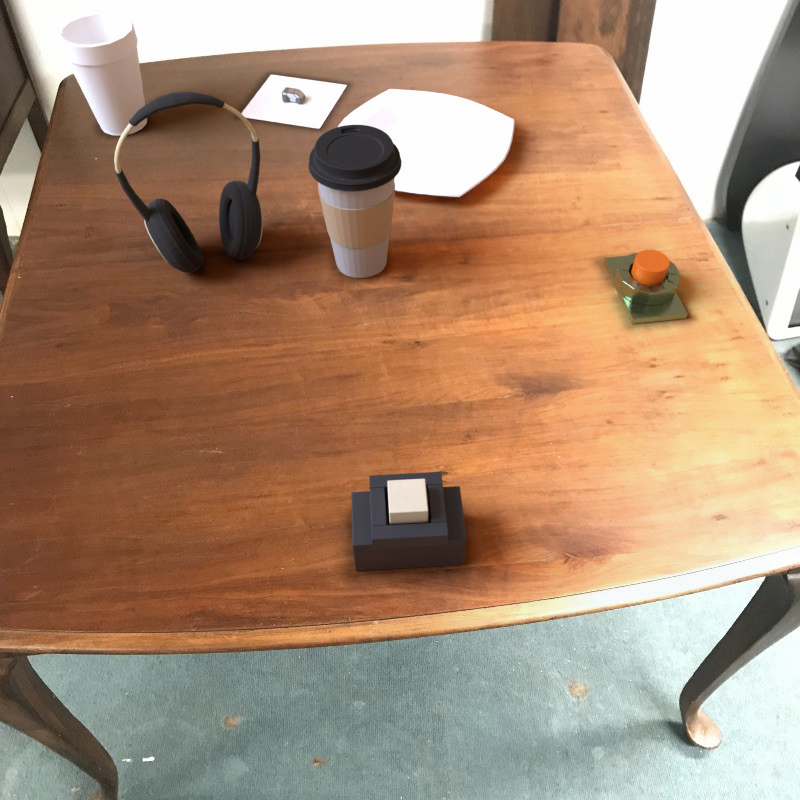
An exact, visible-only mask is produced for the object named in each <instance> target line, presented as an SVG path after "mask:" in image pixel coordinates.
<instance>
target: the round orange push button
mask: <svg viewBox="0 0 800 800" xmlns="http://www.w3.org/2000/svg"><path fill="white" fill-rule="evenodd" d="M637 253H638V254H637V255H636V257H635V260H634V263H633V267H632V270H631V275H632V277H633V279H634V280H636V281H637V282H639V283H641V284H645V285H649V286H653V285H659V284H661V283H662V282H663V281H664V280H665V277H666V274H667V271H668V268H669V265H670V261H671V260H670V259H669V257H668V256H667V255H666V254H665V253H663V252H661V251H659V250H655V249H644V250H641V251H638V252H637Z"/></svg>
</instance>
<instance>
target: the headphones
mask: <svg viewBox="0 0 800 800" xmlns="http://www.w3.org/2000/svg"><path fill="white" fill-rule="evenodd" d="M189 105H190V106H191V105H201V106H202V105H204V106H211V107H216V108H219V109H222V108H223V109H225V110H226V111H228V112H230V113H232V114H234V115H235V116H236V117H238V118H239V119H240V120H241V121H242V122H243V124H244V125H245V126H246V128H247V129H248V130H249V132H250V134H251V135H250V136H251V153H252V154H251V162H250V164H251V165H250V169H249V174H248V180H247V183H246V181H243V180H231V181H229V182H227V183H226V184H225V186H223V188H222V191H221V193H220V199H219V208H218V210H219V211H218V223H219V232H220V239H221V243H222V247H223V249H224V251H225V253H226V254H227V255H228V256H229V257H230V258H232V259H235V260H245V259H248V258H249V257H250V256H251V255H252V254H253V253H254V252H255V251H256V249H257V248H259V246H260V244H261V241H262V237H263V228H264V227H263V224H264V221H263V220H264V218H263V209H262V204H261V200H260V197H259V196H258V194H257V191H258V185H259V178H260V167H261V148H260V139H259V138H258V135H257V132H256V130H255V128H254V126H253V125H252V124H251V122H250V121H249V120H248V118H245V117H244V116H243V115H242V114H241V113H242V112H240V111H239V110H237V109H236V108H235V107H233V106H231V105H229V104H227V103H226V102H225V100H222V99H220V98H218V97H215V96H214V95H211V94H207V93H202V92H197V91H189V90H187V91H176V92H169V93H167V94H163V95H161V96H158V97H155V98H154V99H152V100H150V101H148V102H147V103H145V106H143V107H142V108H141V109H139V110H138V111H137V112H136V114H135V115H134V116H133V117H132V118H131V119H130V121H129V124H128V126H127V127H126V129H125V130H124V131H123V133H122V135H121V136H120V137H119V139H118V140H117V144H116V147H115V150H114V161H113V162H114V169H115V170H114V172H115V175H116V177H117V180H118V182H119V184H120V186H121V188H122V189H121V190H123V192H124V194H125V195H126V196H127V198H128V199H129V201H130V202H131V204H132V205H133V207H134V208H135V209H136V210H137V212H138V213H139V214H140V216H141V217H142V219H143V220H144V226H145V229H146V231H147V234H148V236H149V238H150V240H151V242H152V243H153V245H154V247H155V248H156V250H157V252H158V253H159V254H160V256H161V258H163V260H164V261H165V262H166V263H167V264H168V265H169V266H170V267H171V268H172V269H173V270H177V271H180V272H183V273H186V274H191V273H195V272H197V271H198V270H200V269H201V268H202V267H203V264H204V256H203V253H202V250H201V249H200V246H199V244H198V242H197V239H196V238H195V236H194V234H193V233H192V231H191V229H190V228H189V226H188V224H187V222H186V221H185V219H184V218H183V216H182V215H181V214H180V212H179V211H178V210H177V209H176V208H175V206H174V205H173V204H172V203H171V202H170V201H169V200H167V199H165V198H156V199H154V200H152V201H150V202H149V203H148V204H147V205H146V203H145V202H144V201H143V200H142V199H141V197H140V196H139V195H138V194H137V193H136V191H135V189H134V188H133V187H132V186H131V184H130V182H129V180H128V178H127V177H126V176H127V175H125V173H124V170H123V169H122V168H121V164H120V157H121V150H122V147H123V144H124V142H125V140H126V139H127V136H128V135H130V134H129V132H130V131H131V129H132V128H133V127H134V126H137V125H138V124H139V123H140V122H141V121H143V120H144V119H146V118H147V119H149V117H152V116H154V115H156V114H157V113H159V112H162V111H163V112H164V111H165V110H170V109H171V110H172V109H177V108H180V107H185V106H189Z"/></svg>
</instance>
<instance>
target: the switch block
mask: <svg viewBox="0 0 800 800" xmlns="http://www.w3.org/2000/svg"><path fill="white" fill-rule="evenodd" d="M638 253H639V252H636V253H634V252H633V253H630V254H627V255H619V256H607V257H604V260H603V264H604V266H605V268H606V270H607V273H608V275H609V277H610V279H611V281H612V284H613V286H614V288H615V290H616V293H617V296H618V297H619V299H620V302H621V304H622V306H623V308H624V310H625V311H624V312H626V315H627V317H628V320H629V321H630V323H631V324H632V325H634V324H635V325H636V324H645V323H654V322H655V323H656V322H664V321H674V320H685V319H687V316H688V312H687V310H686V308H685V306H684V304H683V302H682V300H681V298H680V296H679V294H678V293H677V289H678V286H679V283H680V279H681V277H682V276H681V273H680V271H679V269H678V267H677V266H676V264H675V263H674V262H672V261H671V260H669V261H670V265H669V268H668V271H667V274H666V277H665V280H664V281H663V282H662V283H661V284H659V285H653V286H649V285H645V284H641V283H639V282H637V281H636V280H634V279H633V277H632V275H631V270H632V267H633V263H634V260H635V257H636V255H637V254H638Z"/></svg>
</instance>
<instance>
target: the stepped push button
mask: <svg viewBox="0 0 800 800" xmlns="http://www.w3.org/2000/svg"><path fill="white" fill-rule="evenodd" d="M442 474H443V473H442V471H427V472H410V473H409V472H408V473H391V474H375V475H373V474H372V475H368V483H369V485H368V486H369V490H366V491H363V490H362V491H351V497H350V499H351V538H352V539H351V540H352V542H351V543H352V553H353V560H354V561H353V563H354V571H356V572H362V571H364V572H365V571H378V570H379V571H380V570H398V569H399V570H400V569H415V568H431V567H432V568H433V567H447V566H463V565H464V564H465V556H466V547H467V532H466V531H467V530H466V524H465V517H464V516H465V515H464V508H463V500H462V493H461V486H460V485H455V486H444V484H443V475H442ZM408 479H425V481H426V492H427V502H428V522H420V523H402V524H390V521H389V503H388V483H387V482H388V481H390V480H408Z"/></svg>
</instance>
